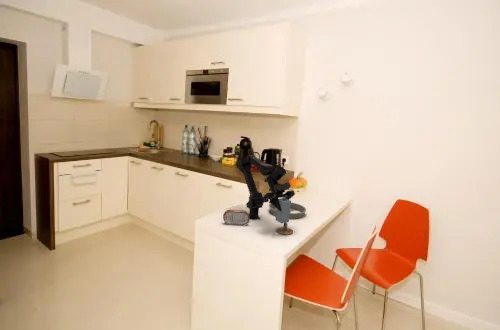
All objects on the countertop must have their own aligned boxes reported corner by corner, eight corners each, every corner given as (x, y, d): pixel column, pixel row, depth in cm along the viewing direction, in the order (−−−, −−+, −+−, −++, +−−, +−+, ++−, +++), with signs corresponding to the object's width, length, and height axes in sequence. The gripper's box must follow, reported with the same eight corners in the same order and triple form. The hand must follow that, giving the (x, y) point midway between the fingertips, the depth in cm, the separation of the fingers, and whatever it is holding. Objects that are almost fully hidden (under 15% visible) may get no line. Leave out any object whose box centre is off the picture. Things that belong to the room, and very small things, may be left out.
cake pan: (275, 220, 176) (276, 213, 175) (263, 207, 199) (263, 201, 198) (312, 219, 182) (313, 212, 182) (296, 207, 206) (296, 201, 205)
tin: (249, 224, 166) (250, 210, 165) (249, 226, 163) (250, 212, 161) (222, 222, 165) (223, 208, 164) (222, 224, 162) (223, 210, 161)
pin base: (274, 228, 161) (274, 219, 161) (288, 228, 164) (289, 219, 163) (280, 235, 153) (281, 226, 152) (295, 234, 156) (296, 225, 155)
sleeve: (275, 220, 155) (277, 198, 153) (282, 219, 158) (284, 197, 156) (281, 223, 151) (283, 201, 149) (288, 222, 154) (291, 200, 152)
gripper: (267, 178, 149) (278, 205, 142) (294, 176, 159) (306, 201, 152) (257, 189, 157) (268, 215, 150) (284, 186, 167) (295, 210, 160)
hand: (285, 210), depth 153 cm, fingers closed on sleeve, 5 cm apart
